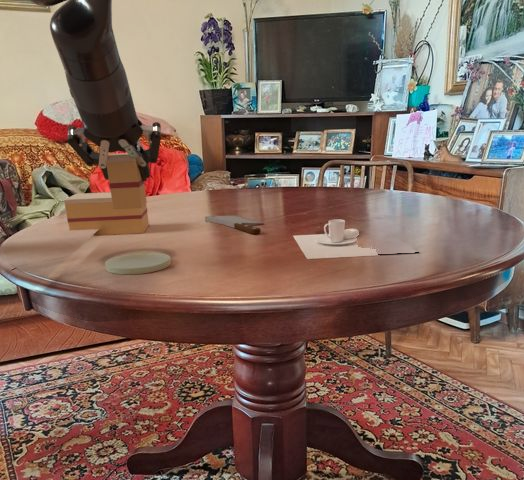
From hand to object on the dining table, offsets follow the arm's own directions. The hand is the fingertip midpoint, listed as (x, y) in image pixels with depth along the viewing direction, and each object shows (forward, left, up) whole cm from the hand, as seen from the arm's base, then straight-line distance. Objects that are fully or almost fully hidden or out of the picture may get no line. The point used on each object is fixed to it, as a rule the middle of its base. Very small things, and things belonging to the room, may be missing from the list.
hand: (128, 177), depth 84 cm
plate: (0, -2, -14) cm, 14 cm away
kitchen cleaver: (+19, +31, -14) cm, 39 cm away
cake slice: (0, -2, -4) cm, 5 cm away
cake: (-11, +32, -14) cm, 37 cm away
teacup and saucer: (+39, +6, -14) cm, 42 cm away
